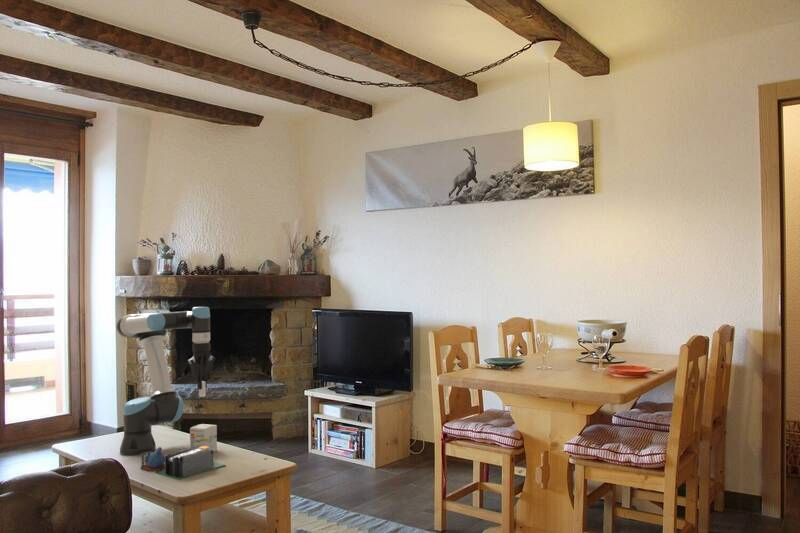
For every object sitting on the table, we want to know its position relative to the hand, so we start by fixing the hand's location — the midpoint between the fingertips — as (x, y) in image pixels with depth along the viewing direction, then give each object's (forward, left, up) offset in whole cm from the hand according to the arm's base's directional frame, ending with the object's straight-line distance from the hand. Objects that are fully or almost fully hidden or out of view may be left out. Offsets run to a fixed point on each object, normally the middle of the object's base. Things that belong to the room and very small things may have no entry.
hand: (202, 396), depth 286 cm
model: (-4, -21, -27) cm, 34 cm away
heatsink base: (+12, -15, -26) cm, 32 cm away
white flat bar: (+13, -16, -20) cm, 29 cm away
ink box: (-8, +6, -27) cm, 28 cm away
